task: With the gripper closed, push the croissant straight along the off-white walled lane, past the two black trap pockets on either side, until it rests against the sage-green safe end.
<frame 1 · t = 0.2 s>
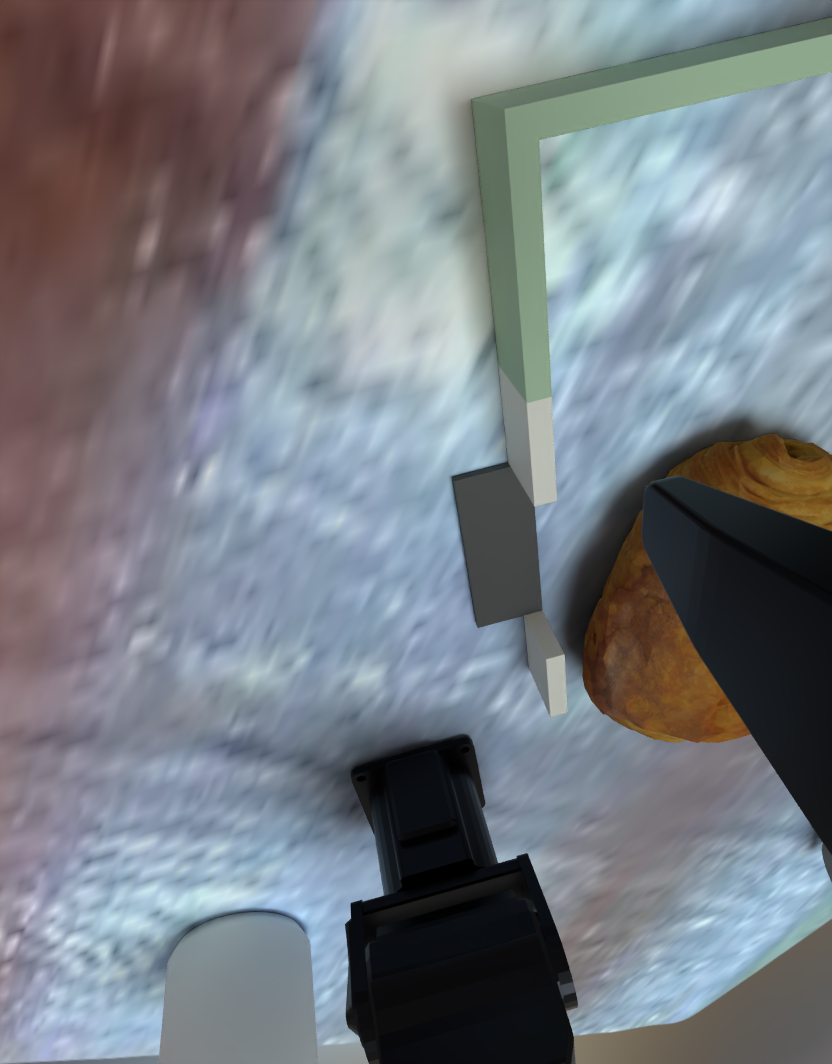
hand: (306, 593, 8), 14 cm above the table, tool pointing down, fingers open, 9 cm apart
white bottle: (240, 939, 44), on the table
croissant: (710, 567, 32), on the table
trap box: (739, 403, 26), on the table
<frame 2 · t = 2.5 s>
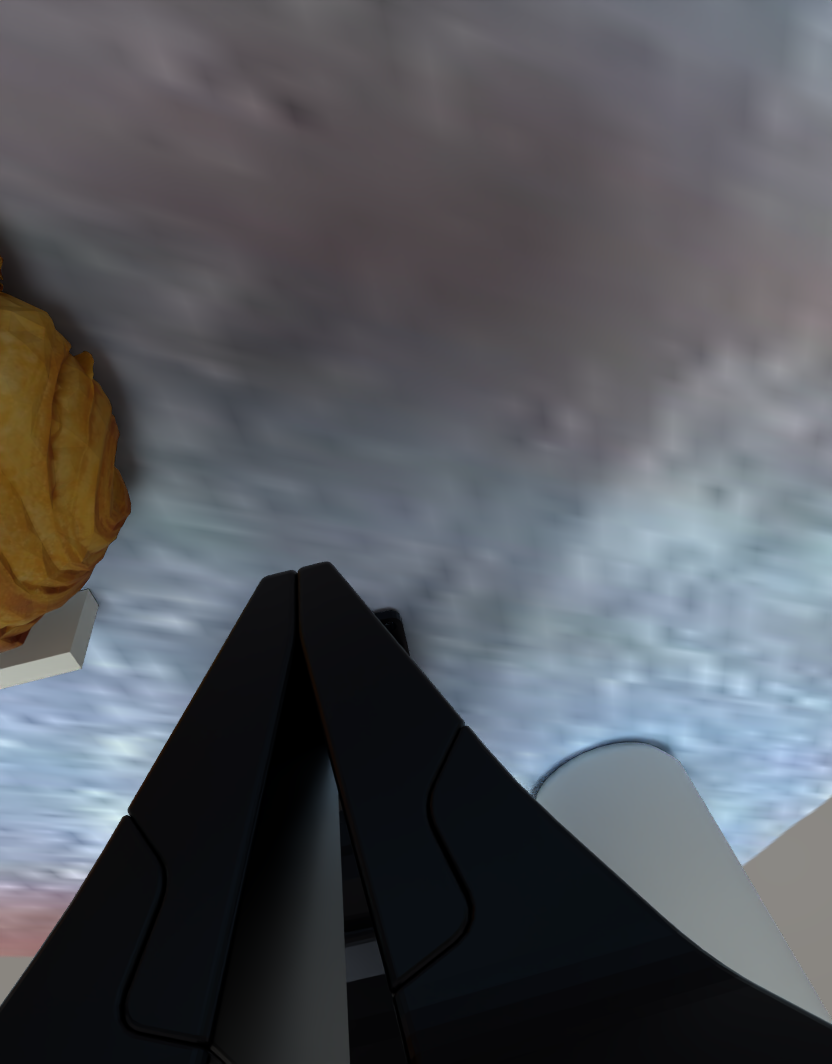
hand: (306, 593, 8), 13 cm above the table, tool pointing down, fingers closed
white bottle: (600, 783, 38), on the table
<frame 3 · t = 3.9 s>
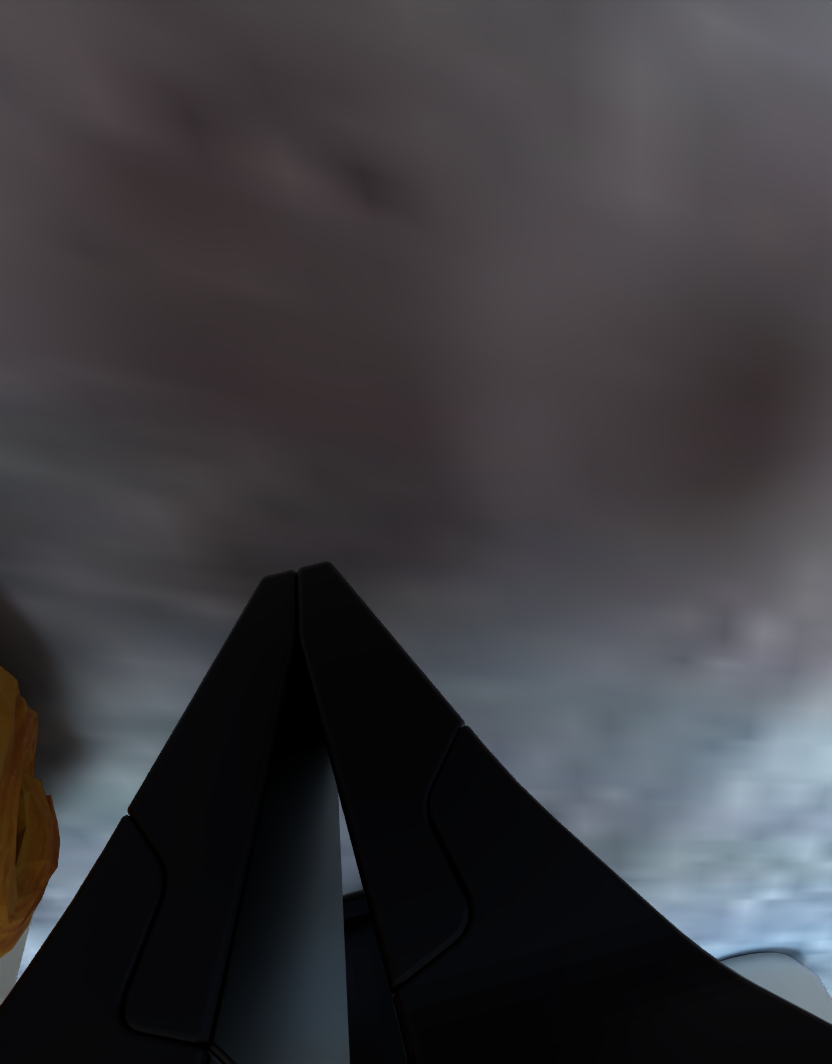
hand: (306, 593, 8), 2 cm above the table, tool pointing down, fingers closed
white bottle: (707, 990, 29), on the table
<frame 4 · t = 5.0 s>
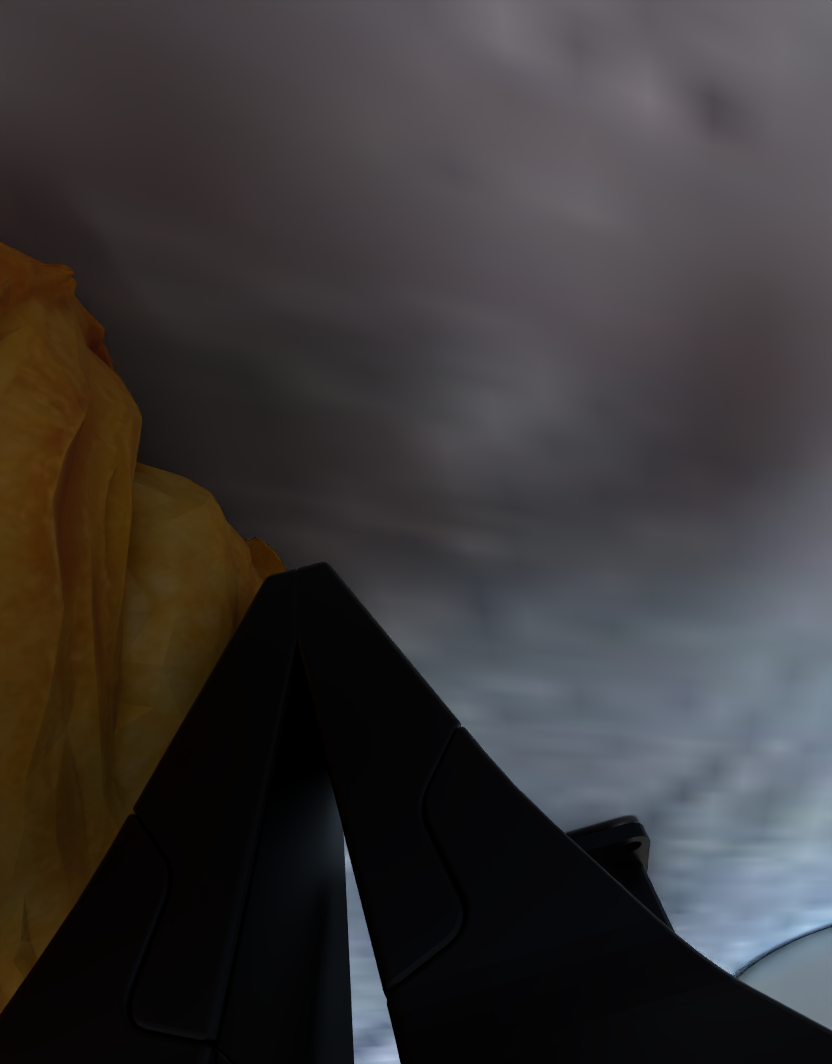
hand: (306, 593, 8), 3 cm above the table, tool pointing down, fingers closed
white bottle: (810, 958, 30), on the table
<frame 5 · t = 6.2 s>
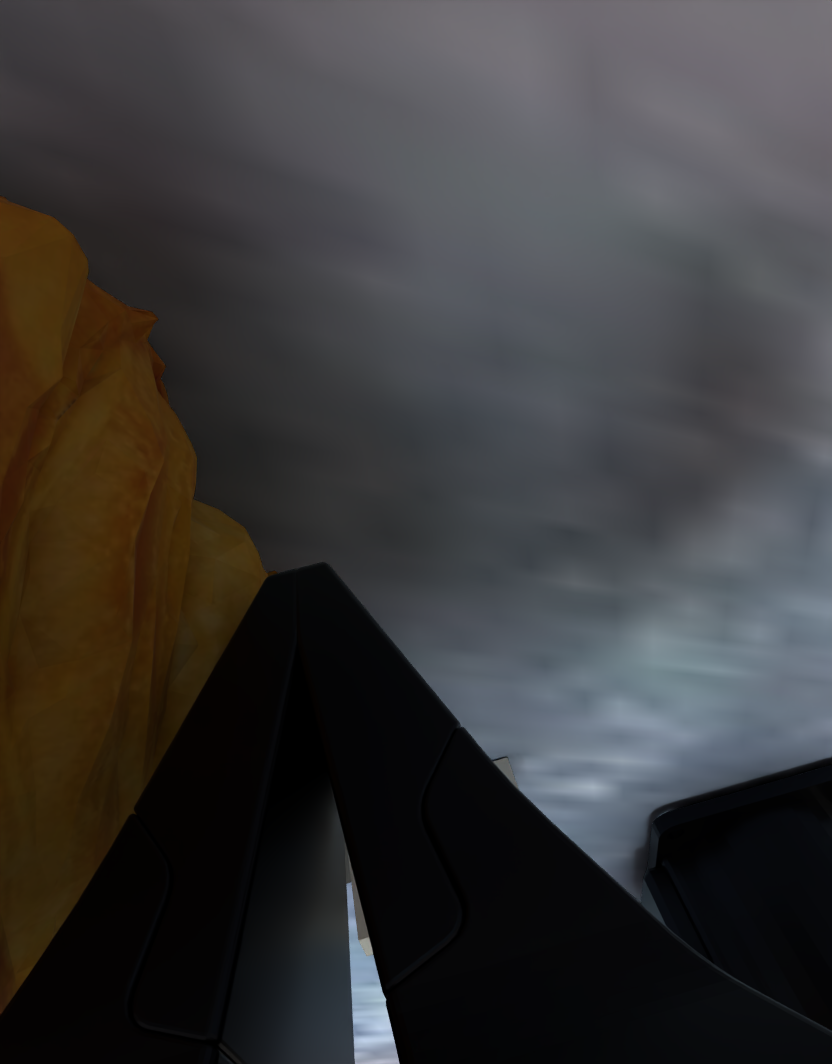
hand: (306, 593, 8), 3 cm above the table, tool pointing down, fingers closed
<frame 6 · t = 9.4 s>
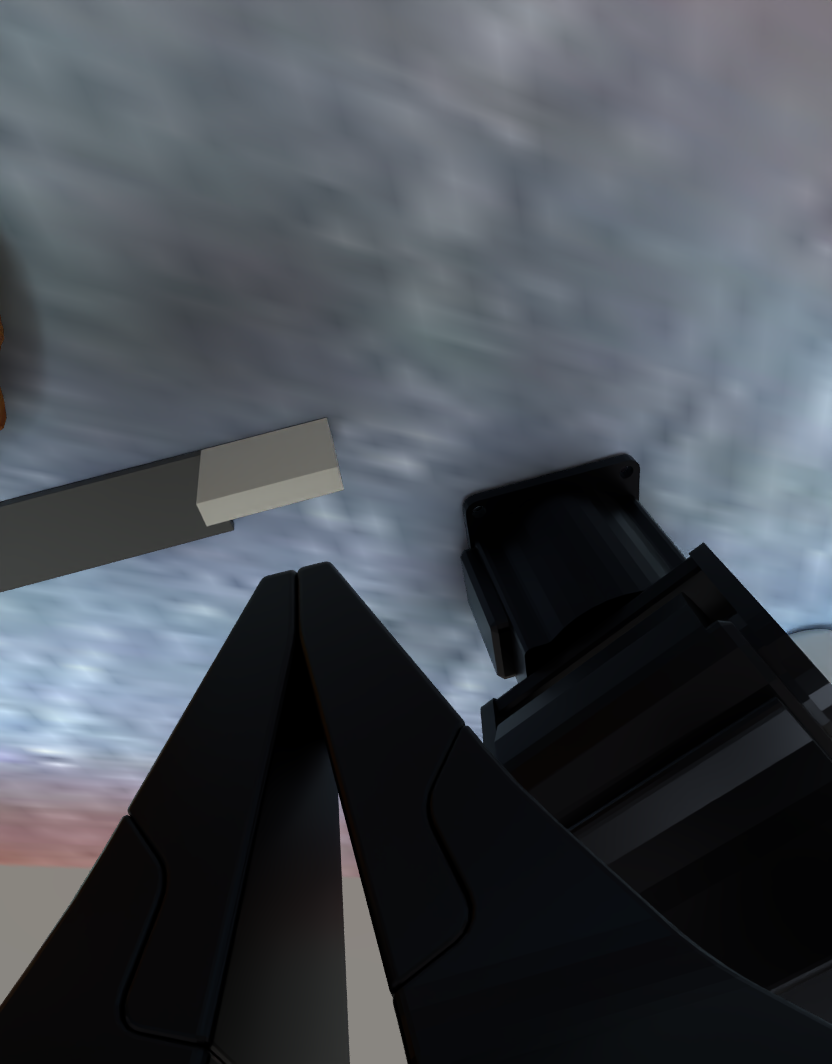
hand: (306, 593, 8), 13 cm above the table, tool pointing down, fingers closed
white bottle: (778, 679, 36), on the table
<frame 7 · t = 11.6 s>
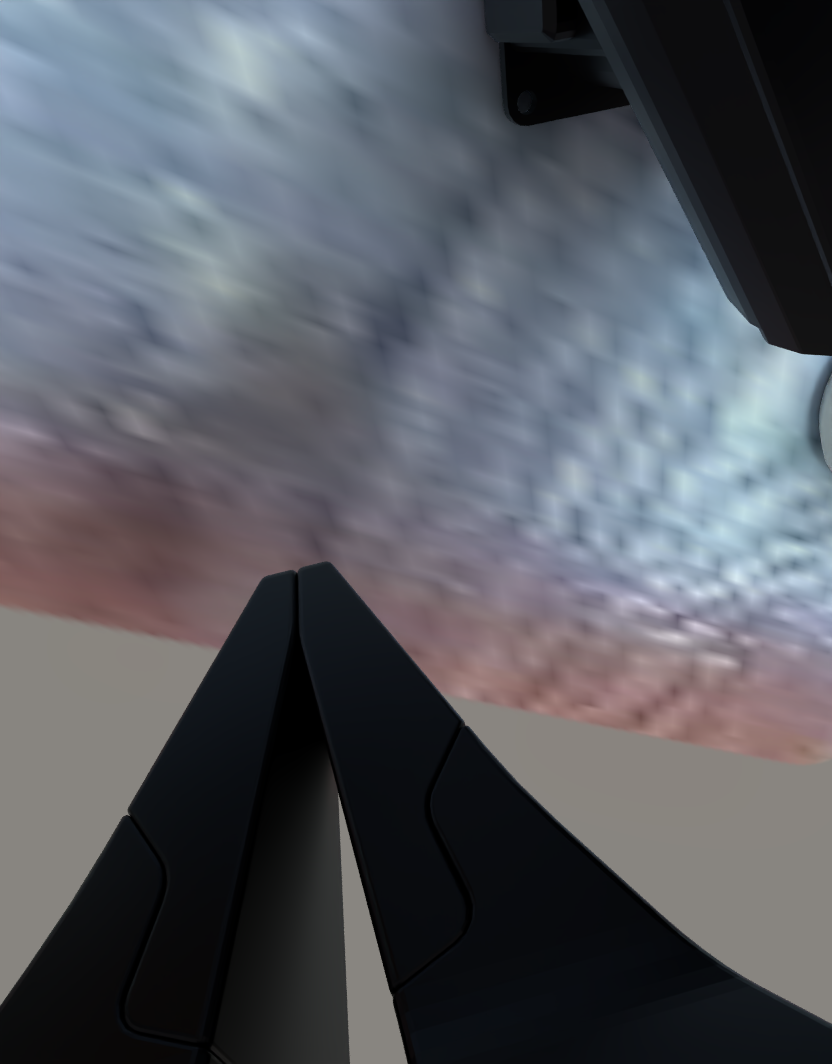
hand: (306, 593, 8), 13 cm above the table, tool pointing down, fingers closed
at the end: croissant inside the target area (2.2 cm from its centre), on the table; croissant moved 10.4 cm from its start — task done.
